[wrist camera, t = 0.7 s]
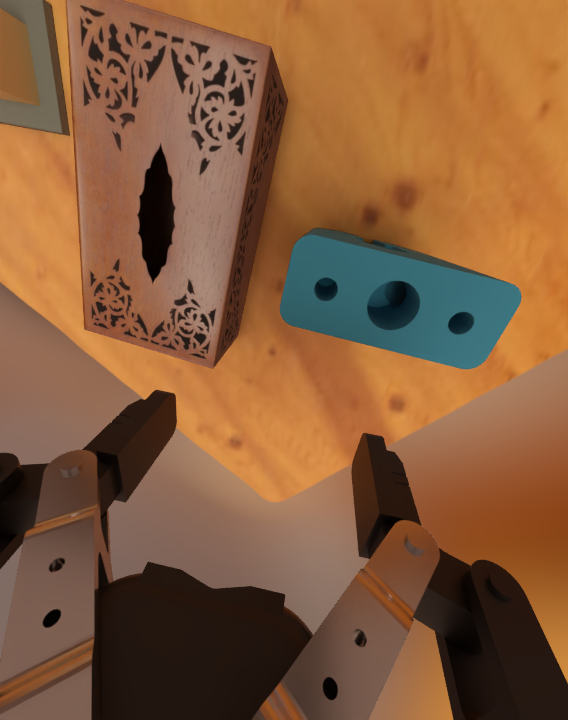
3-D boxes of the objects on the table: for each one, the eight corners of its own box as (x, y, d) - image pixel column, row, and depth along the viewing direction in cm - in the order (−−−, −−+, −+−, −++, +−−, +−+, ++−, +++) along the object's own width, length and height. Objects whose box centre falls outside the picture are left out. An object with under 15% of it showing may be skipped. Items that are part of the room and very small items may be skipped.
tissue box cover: (238, 335, 40) (212, 368, 31) (138, 304, 40) (84, 329, 31) (288, 101, 28) (271, 46, 19) (147, 57, 28) (64, -18, 19)
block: (301, 269, 35) (276, 321, 17) (312, 224, 32) (296, 230, 15) (399, 293, 34) (478, 372, 17) (416, 250, 32) (529, 287, 14)
